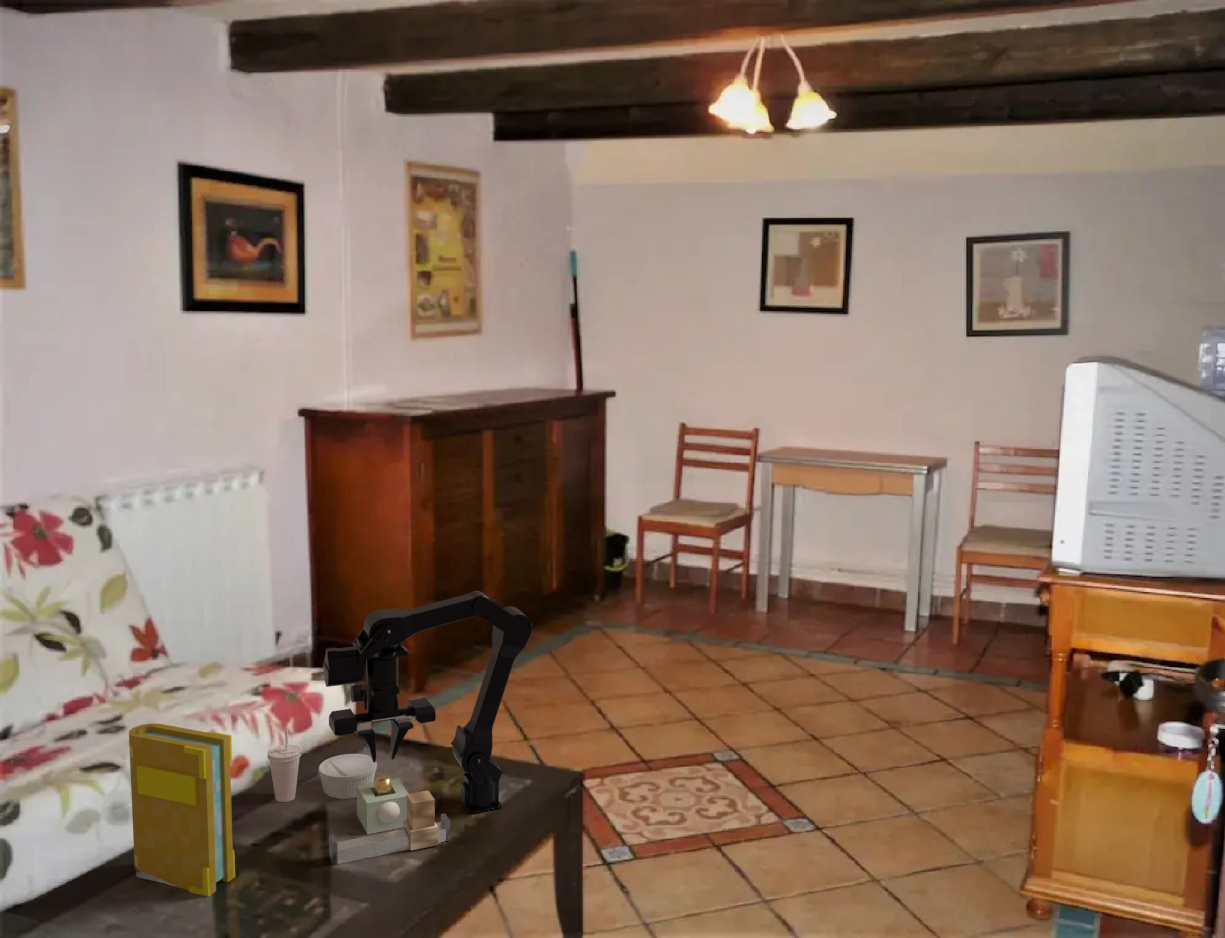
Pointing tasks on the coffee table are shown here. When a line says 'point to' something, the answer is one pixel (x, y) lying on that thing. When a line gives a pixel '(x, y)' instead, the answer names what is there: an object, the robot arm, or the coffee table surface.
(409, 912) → the coffee table surface
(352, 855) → the rail
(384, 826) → the cabinet
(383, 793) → the button
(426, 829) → the carriage
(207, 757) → the book
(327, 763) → the ramekin
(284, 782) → the smoothie
